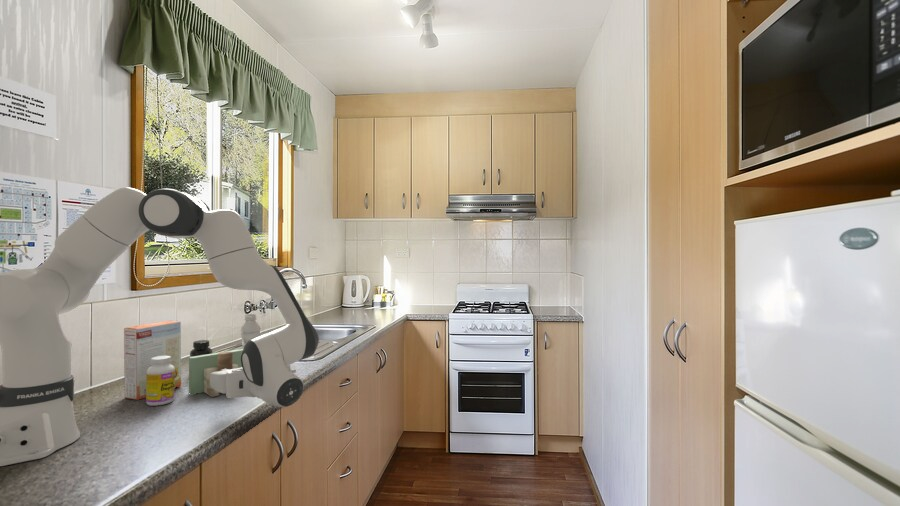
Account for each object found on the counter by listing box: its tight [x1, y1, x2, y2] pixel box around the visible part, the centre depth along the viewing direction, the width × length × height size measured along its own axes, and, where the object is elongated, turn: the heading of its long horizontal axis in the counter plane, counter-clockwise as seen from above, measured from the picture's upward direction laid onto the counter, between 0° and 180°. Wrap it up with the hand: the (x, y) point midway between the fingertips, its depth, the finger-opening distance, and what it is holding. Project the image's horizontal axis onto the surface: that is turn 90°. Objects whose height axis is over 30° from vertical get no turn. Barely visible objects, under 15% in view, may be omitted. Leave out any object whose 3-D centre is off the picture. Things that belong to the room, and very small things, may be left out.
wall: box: [188, 348, 243, 395], centre depth 135 cm, size 16×2×11 cm, turn 137°
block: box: [203, 363, 238, 398], centre depth 132 cm, size 9×7×7 cm
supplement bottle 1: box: [145, 356, 175, 407], centre depth 122 cm, size 7×7×13 cm
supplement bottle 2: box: [189, 339, 213, 357], centre depth 149 cm, size 7×7×12 cm
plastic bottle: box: [240, 313, 261, 349], centre depth 157 cm, size 6×7×20 cm
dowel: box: [217, 351, 233, 395], centre depth 131 cm, size 4×4×12 cm
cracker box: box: [123, 320, 182, 401], centre depth 131 cm, size 14×6×21 cm, turn 161°
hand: (241, 368), depth 123 cm, fingers open, 8 cm apart
